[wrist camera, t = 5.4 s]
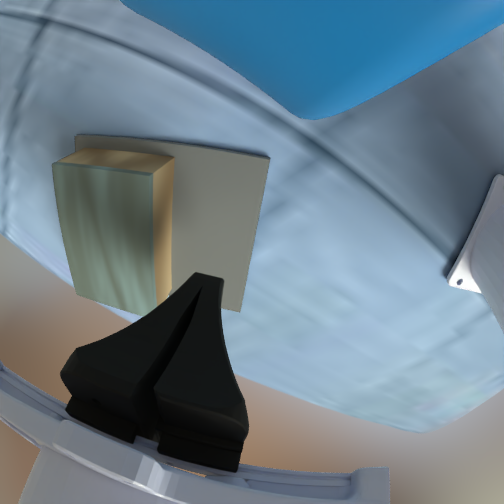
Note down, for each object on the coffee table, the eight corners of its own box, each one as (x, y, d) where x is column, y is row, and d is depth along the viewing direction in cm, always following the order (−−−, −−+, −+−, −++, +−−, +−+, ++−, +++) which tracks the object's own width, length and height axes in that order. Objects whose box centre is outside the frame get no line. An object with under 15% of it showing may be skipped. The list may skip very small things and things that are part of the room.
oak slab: (149, 176, 12) (51, 164, 12) (155, 320, 17) (76, 294, 17) (174, 157, 14) (84, 147, 14) (171, 288, 19) (98, 268, 20)
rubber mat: (270, 157, 14) (269, 159, 14) (240, 308, 20) (240, 312, 20) (78, 134, 14) (74, 136, 14) (93, 270, 20) (91, 273, 20)
